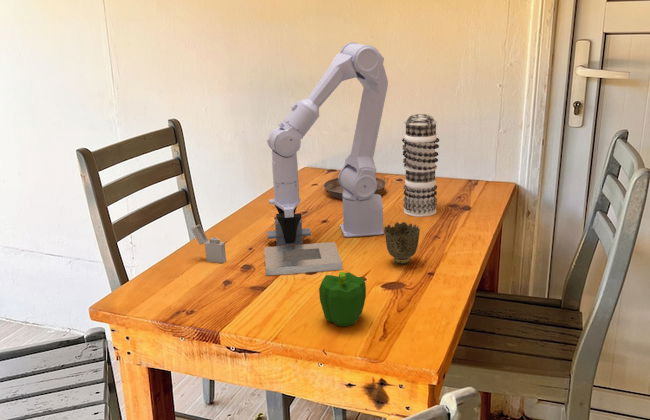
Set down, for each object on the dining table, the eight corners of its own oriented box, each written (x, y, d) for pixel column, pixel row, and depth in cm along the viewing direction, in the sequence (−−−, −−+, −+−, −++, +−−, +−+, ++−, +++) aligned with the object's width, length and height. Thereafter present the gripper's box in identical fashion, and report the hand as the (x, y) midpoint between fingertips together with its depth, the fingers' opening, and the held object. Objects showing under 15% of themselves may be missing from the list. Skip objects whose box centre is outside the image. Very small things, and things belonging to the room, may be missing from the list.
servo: (310, 238, 161) (308, 213, 159) (311, 243, 158) (310, 218, 156) (267, 241, 160) (266, 216, 158) (268, 247, 157) (266, 221, 155)
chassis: (335, 248, 154) (334, 242, 154) (342, 269, 143) (342, 262, 142) (264, 254, 153) (264, 247, 152) (266, 275, 141) (265, 268, 141)
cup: (396, 272, 140) (396, 236, 138) (378, 260, 147) (377, 226, 144) (426, 265, 143) (427, 229, 141) (406, 253, 150) (406, 219, 147)
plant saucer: (314, 190, 198) (313, 180, 197) (367, 181, 205) (367, 171, 204) (340, 207, 183) (340, 196, 182) (397, 196, 190) (397, 186, 189)
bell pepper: (327, 307, 127) (325, 257, 124) (370, 311, 124) (369, 261, 121) (313, 328, 119) (311, 276, 116) (359, 333, 117) (358, 280, 114)
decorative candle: (434, 218, 171) (436, 120, 163) (398, 215, 174) (398, 119, 166) (440, 207, 179) (442, 113, 171) (406, 204, 182) (406, 112, 174)
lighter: (226, 260, 150) (223, 226, 147) (222, 263, 149) (219, 228, 146) (198, 256, 152) (194, 223, 150) (194, 259, 151) (190, 226, 148)
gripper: (267, 173, 160) (270, 227, 165) (269, 191, 147) (273, 249, 151) (296, 171, 161) (299, 225, 165) (301, 189, 147) (304, 247, 152)
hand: (289, 236), depth 158 cm, fingers open, 7 cm apart
